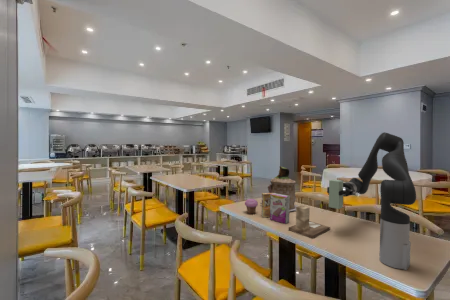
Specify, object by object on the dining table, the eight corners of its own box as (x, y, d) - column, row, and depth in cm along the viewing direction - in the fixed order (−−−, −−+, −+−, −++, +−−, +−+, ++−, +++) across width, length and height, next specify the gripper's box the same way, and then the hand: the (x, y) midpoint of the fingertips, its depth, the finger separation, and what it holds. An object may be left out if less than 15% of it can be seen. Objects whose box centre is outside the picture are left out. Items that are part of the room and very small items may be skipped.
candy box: (263, 217, 140) (263, 194, 140) (261, 215, 144) (261, 192, 144) (276, 217, 141) (276, 193, 141) (273, 215, 145) (274, 192, 145)
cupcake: (246, 215, 144) (247, 200, 144) (243, 211, 153) (243, 197, 153) (259, 214, 146) (259, 199, 146) (255, 210, 154) (255, 196, 154)
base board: (329, 229, 121) (330, 205, 120) (312, 238, 109) (313, 212, 108) (306, 222, 131) (307, 200, 131) (288, 230, 119) (289, 205, 119)
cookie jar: (306, 210, 158) (307, 166, 158) (280, 214, 147) (280, 167, 147) (283, 202, 180) (283, 163, 180) (258, 205, 170) (259, 164, 169)
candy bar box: (269, 219, 136) (269, 194, 135) (273, 218, 139) (273, 192, 139) (285, 224, 128) (286, 197, 128) (289, 222, 132) (290, 195, 131)
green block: (342, 207, 113) (343, 180, 113) (338, 209, 110) (339, 181, 110) (332, 205, 117) (333, 179, 117) (328, 206, 114) (329, 180, 113)
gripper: (334, 180, 128) (320, 183, 117) (361, 184, 117) (348, 187, 106) (334, 193, 128) (320, 197, 117) (361, 197, 117) (348, 202, 106)
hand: (333, 192), depth 112 cm, fingers closed on green block, 5 cm apart
